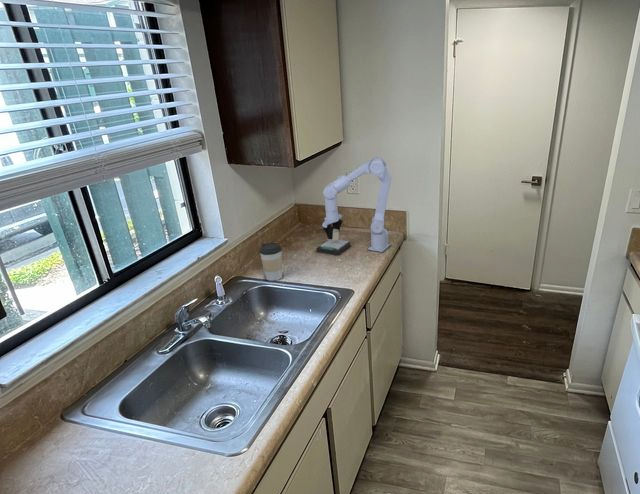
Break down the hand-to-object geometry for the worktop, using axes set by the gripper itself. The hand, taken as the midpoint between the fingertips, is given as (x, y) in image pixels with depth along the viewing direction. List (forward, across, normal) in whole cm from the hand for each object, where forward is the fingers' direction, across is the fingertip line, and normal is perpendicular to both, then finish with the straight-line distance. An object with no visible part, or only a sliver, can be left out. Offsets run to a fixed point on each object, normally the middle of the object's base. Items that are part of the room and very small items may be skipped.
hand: (333, 236), depth 212 cm
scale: (+6, 0, 0) cm, 6 cm away
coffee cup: (+6, +36, -8) cm, 38 cm away
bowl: (+1, 0, 0) cm, 1 cm away
